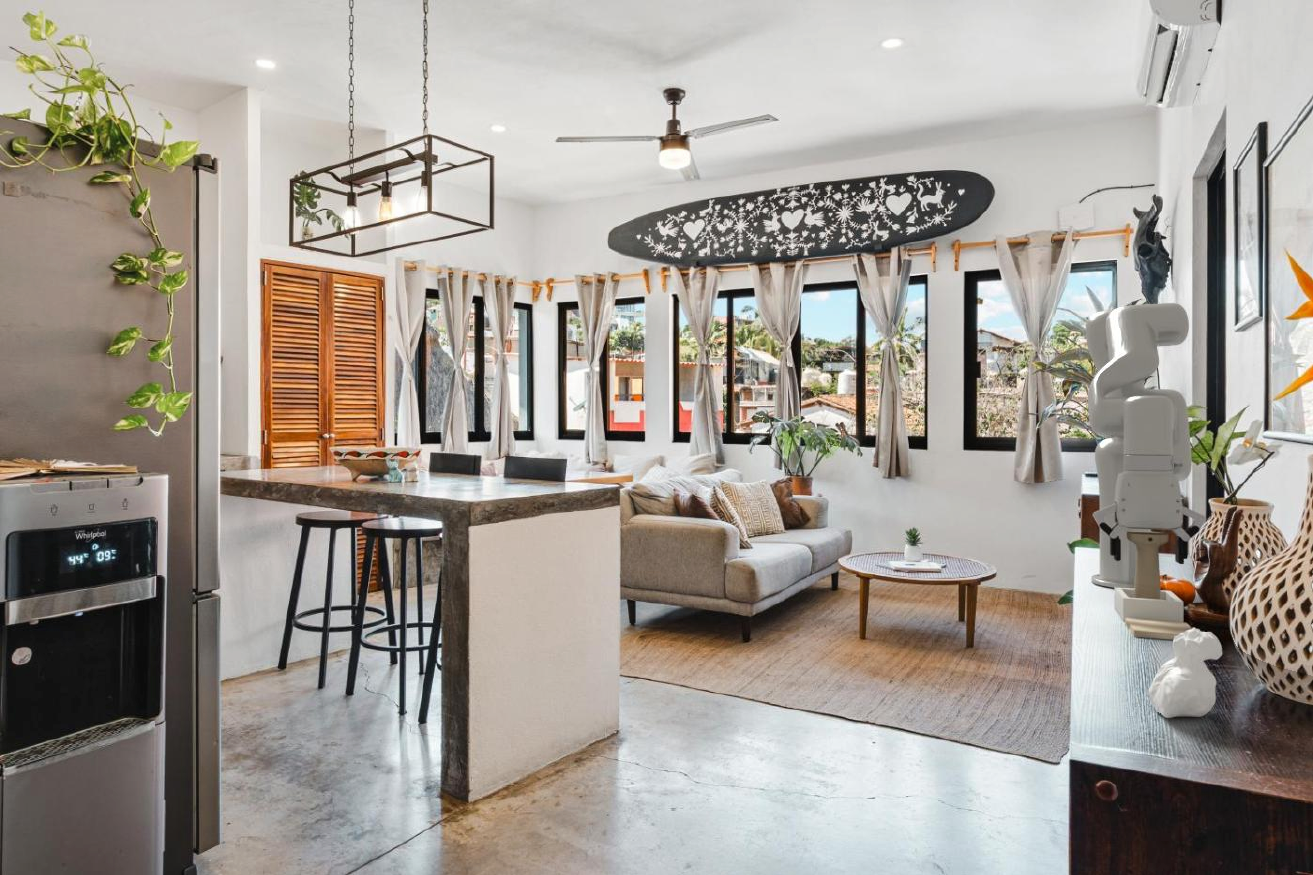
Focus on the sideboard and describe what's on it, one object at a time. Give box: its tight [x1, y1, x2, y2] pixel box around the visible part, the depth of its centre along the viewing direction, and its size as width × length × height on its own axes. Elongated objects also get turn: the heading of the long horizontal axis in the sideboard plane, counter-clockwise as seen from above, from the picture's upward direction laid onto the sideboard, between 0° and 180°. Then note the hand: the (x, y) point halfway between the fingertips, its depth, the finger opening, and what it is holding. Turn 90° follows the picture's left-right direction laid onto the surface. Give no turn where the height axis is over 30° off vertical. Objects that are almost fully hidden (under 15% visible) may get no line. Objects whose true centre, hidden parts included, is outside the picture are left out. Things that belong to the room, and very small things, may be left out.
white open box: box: [1113, 587, 1184, 622], centre depth 145 cm, size 10×9×4 cm
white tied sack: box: [1147, 627, 1223, 719], centre depth 97 cm, size 12×8×11 cm
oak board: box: [1124, 618, 1193, 641], centre depth 134 cm, size 9×9×1 cm
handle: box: [1127, 531, 1170, 600], centre depth 145 cm, size 5×6×15 cm
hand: (1148, 561), depth 144 cm, fingers open, 9 cm apart
